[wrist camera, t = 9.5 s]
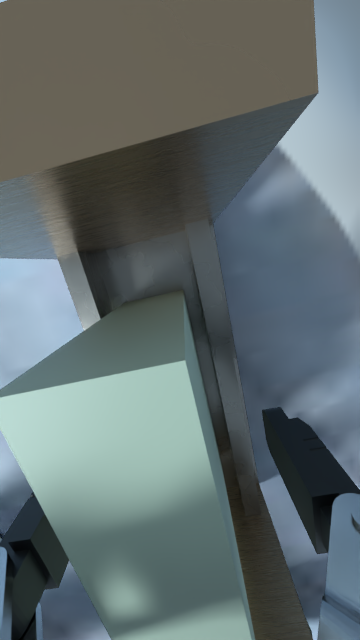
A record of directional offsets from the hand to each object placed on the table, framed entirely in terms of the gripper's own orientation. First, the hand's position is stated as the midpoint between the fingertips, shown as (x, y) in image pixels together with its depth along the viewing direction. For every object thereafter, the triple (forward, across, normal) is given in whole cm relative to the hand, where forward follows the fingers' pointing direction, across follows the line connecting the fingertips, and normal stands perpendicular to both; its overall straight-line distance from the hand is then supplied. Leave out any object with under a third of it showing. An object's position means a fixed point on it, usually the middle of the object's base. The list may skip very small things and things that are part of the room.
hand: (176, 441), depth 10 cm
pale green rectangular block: (+4, 0, 0) cm, 4 cm away
